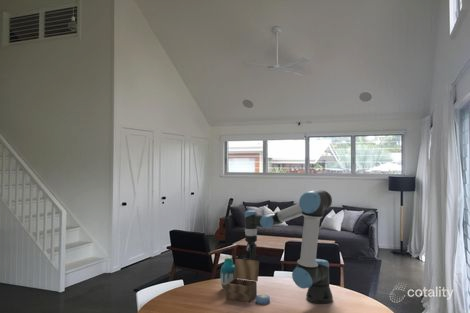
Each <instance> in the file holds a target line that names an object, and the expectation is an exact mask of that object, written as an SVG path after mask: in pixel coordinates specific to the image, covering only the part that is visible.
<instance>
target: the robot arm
mask: <svg viewBox="0 0 470 313" xmlns="http://www.w3.org/2000/svg"><path fill="white" fill-rule="evenodd" d="M298 200H299V201H298V203H296V204H293V205H291V206H289V207H287V208H283V209H281V210H279V211H276V212H273V213H268V214H257V211H256V210H246V211H245V212H244V225H245V227H244V232H245V233H244V234H245V235H244V239H245V242H246V244H247V245H246V247H245V253H246V258H248V259H246V260H249V259H250V260H254V261H256V254H257V252H256V251H257V245H258V244H256V242H257V241H258V236H257V234H258V230H257V229H258V228H257V227H259V228H264V229H265V228H266V229H269V228H272V227H273V226H277V225H278V226H279V225H282V224H283V223H285V222H288V221H290V220H293V219H296V218H298V217H301V216H303V226H302V227H303V228H302V237H301V246H300V247H301V250H300V255H299V257H300V258H299V259H298V260H297V261H296V267H295V268H294V269H293V271H292V273H291V274H292V275H291V276H292V277H291V278H292V281H293V283H295V285H296V286H297V287H298V288H300V289H304V290H305V289H307V291H306V297H305V298H306V301H308V302H311V303H314V304H319V305H320V304H322V305H324V304H330V303H332V302H333V301H334V300H333V298H334V297H333V293H332V291H331V290H332V289H331V287H330V263H329V261H328V260H326V259H322V258H321V259H320V258H317V251H318V243H319V231H320V230H319V229H320V222H321V219H323V217H324V211H326V210H328V209H330V208H331V207H332V204H333V198H332V195H331V194H330V193H329V192H328V191H327V190H325V189H323V190H321V189H319V190H309V191H306V192H304V193H303V194H301V196H300V198H299V199H298Z"/></svg>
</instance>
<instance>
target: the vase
mask: <svg viewBox="0 0 470 313" xmlns="http://www.w3.org/2000/svg"><path fill="white" fill-rule="evenodd" d="M223 262H224V263H223V264H222V265H221V267H220V285H221V287H222V289H224V290H226V283H228V282H230V281H231V280H233V279H236V278H234V269H235V263H234V260H233V258H231V257H229V258H224V260H223Z"/></svg>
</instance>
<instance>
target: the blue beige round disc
mask: <svg viewBox="0 0 470 313" xmlns="http://www.w3.org/2000/svg"><path fill="white" fill-rule="evenodd" d="M270 299H271V297H270V296H269V295H268V294H257V296H256V298H255V303H256V304H259V305H267V304H270V303H271V300H270Z"/></svg>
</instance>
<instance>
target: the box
mask: <svg viewBox="0 0 470 313" xmlns="http://www.w3.org/2000/svg"><path fill="white" fill-rule="evenodd" d="M257 282H258V281H252V280H244V279H233V280H231V281H230V282H228V283H226V289H225V290H226V291H225V294H226V295H225V296H226V297H225V298H226V300H232V301H238V302H243V303H251V302H252V301H254V299H256V296H257V295H258V292H257V290H258V289H257V287H258V286H257V285H258V284H257Z"/></svg>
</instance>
